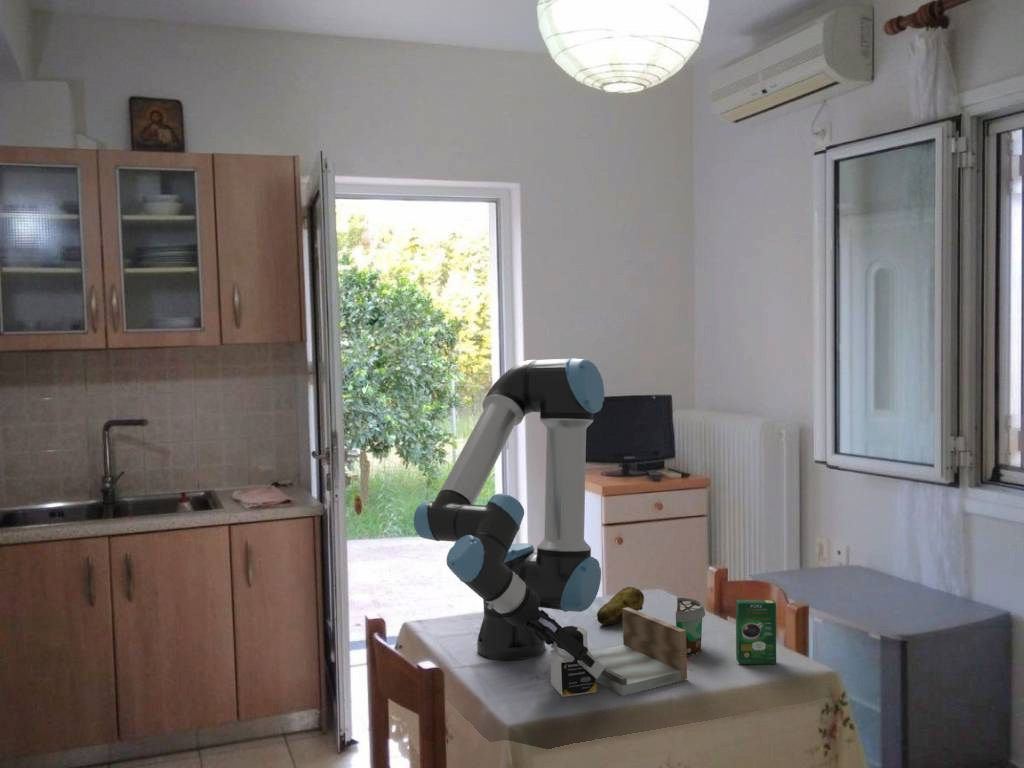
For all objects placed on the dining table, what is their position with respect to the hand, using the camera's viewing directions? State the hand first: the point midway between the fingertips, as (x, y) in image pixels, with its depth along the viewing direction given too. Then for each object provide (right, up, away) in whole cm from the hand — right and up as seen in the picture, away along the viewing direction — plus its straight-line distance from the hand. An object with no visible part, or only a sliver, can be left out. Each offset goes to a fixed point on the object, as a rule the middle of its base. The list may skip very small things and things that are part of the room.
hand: (587, 666), depth 186 cm
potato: (+11, -2, +42) cm, 43 cm away
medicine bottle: (-3, -4, -1) cm, 5 cm away
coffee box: (+36, -2, +10) cm, 37 cm away
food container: (+24, -2, +19) cm, 31 cm away
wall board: (+8, -3, +6) cm, 10 cm away
